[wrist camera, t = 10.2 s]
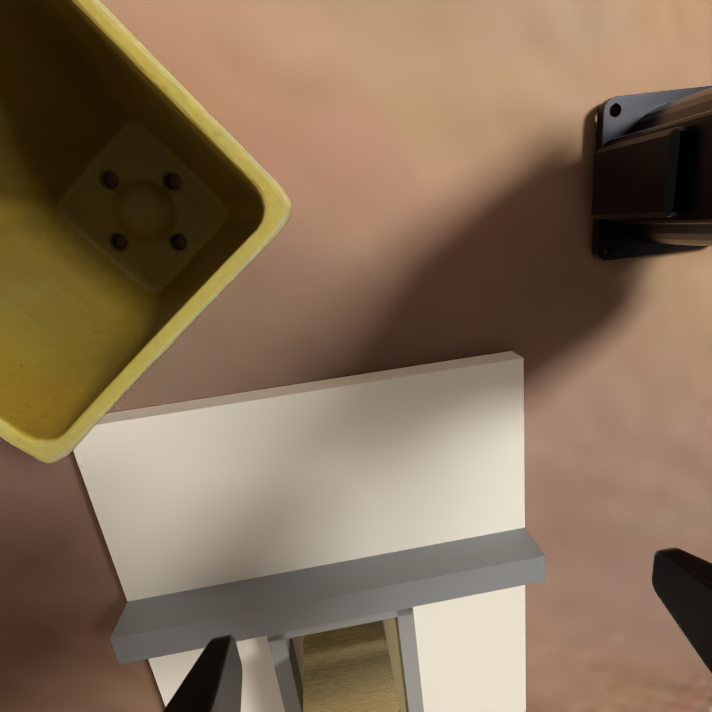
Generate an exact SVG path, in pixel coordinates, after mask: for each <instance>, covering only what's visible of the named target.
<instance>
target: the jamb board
mask: <svg viewBox="0 0 712 712" xmlns="http://www.w3.org/2000/svg"><path fill="white" fill-rule="evenodd" d="M73 452H74V455H75V457H76V460H77V463H78V466H79V468H80V471H81V474H82V477H83V479H84V482H85V485H86V488H87V491H88V493H89V496H90V499H91V502H92V504H93V507H94V510H95V513H96V516H97V518H98V521H99V524H100V527H101V529H102V532H103V535H104V538H105V541H106V543H107V546H108V549H109V552H110V554H111V557H112V560H113V563H114V566H115V568H116V571H117V574H118V577H119V579H120V582H121V585H122V588H123V591H124V593H125V596H126V599H127V604H126V606H125V608H124V610H123V612H122V614H121V616H120V618H119V621H118V623H117V625H116V627H115V629H114V631H113V633H112V635H111V637H110V639H109V640H110V642H111V645H112V647H113V650H114V652H115V655H116V658H117V660H118V663H119V665H120V664H125V663H130V662H135V661H140V660H145V659H148V660H149V663H150V665H151V668H152V671H153V674H154V677H155V679H156V682H157V685H158V688H159V690H160V693H161V696H162V699H163V702H164V704H165V707H166V706H167V704H168V703H169V701H170V700H171V698H172V697H173V695H174V694H175V692H176V691H177V689H178V688H179V686H180V685H181V683H182V682H183V680H184V679H185V677H186V676H187V674H188V673H189V671H190V670H191V668H192V667H193V665H194V664H195V662H196V661H197V659H198V658H199V656H200V655H201V653H202V652H203V650H204V648H205V647H206V645H207V644H208V642H209V641H210V640H211V639H212V638H214V637H217V636H222V635H227V634H232V635H233V636H234V638H235V641H236V644H237V648H238V652H239V656H240V659H241V663H242V673H243V677H242V696H241V712H303V636H304V635H309V634H314V633H319V632H324V631H329V630H335V629H340V628H345V627H350V626H355V625H360V624H365V623H370V622H375V621H380V620H383V625H384V630H385V635H386V640H387V645H388V650H389V656H390V661H391V666H392V671H393V676H394V681H395V686H396V691H397V696H398V701H399V707H400V712H526V673H525V585H527V584H532V583H537V582H542V581H545V555H544V553H543V552H542V551H541V549H540V548H539V547H538V545H537V544H536V542H535V541H534V540H533V538H532V537H531V536H530V534H529V533H528V532H527V530H526V529H525V507H524V358H523V357H521V356H519V355H518V354H516V353H514V352H513V351H507V352H501V353H494V354H488V355H481V356H475V357H468V358H462V359H456V360H449V361H443V362H436V363H430V364H423V365H417V366H410V367H404V368H397V369H391V370H385V371H378V372H372V373H365V374H359V375H352V376H346V377H339V378H333V379H326V380H320V381H313V382H307V383H301V384H294V385H288V386H281V387H275V388H268V389H262V390H255V391H249V392H242V393H236V394H229V395H223V396H217V397H210V398H204V399H197V400H191V401H184V402H178V403H171V404H165V405H158V406H152V407H145V408H139V409H133V410H126V411H120V412H113V413H107V414H105V415H104V416H103V418H102V419H101V420H100V421H99V422H98V423H97V424H96V425H95V426H94V427H93V428H92V430H91V431H90V432H89V433H88V434H87V435H86V436H85V438H84V439H83V440H82V441H81V442H80V443H79V444H78V445H77V447H76V448H75V449H74V450H73Z"/></svg>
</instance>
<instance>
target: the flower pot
mask: <svg viewBox="0 0 712 712" xmlns="http://www.w3.org/2000/svg"><path fill="white" fill-rule="evenodd" d="M108 172H111V173H114V174H116V175H117V177H118V179H119V184H118V185H117V187H115V188H110V187H108V186H107V185H106V184H105V181H104V176H105V174H106V173H108ZM169 174H175V175H177V176H178V177H179V178H180V186H179V188H177V189H170V188H169V187H168V186H167V185H166V182H165V179H166V177H167V176H168V175H169ZM290 214H291V203H290V200H289V198H288V196H287V195H286V193H285V192H284V190H283V189H282V187H281V186H280V185H279V184H278V182H277V181H276V180H275V179H274V178H273V177H272V176H271V175H270V174H269V173H268V172H267V171H266V170H265V169H264V168H263V167H262V166H261V165H260V164H259V163H258V162H257V161H256V160H255V159H254V158H253V157H252V156H251V155H250V154H249V153H248V152H247V151H246V150H245V149H244V148H243V147H242V146H241V145H240V144H239V143H238V142H237V141H236V140H235V139H234V138H233V137H232V136H231V135H230V134H229V132H228V131H227V130H226V129H225V128H224V127H223V126H222V125H221V124H220V123H219V122H218V121H217V120H216V119H215V118H214V117H213V116H212V115H211V114H210V113H209V112H208V111H207V110H206V109H205V108H204V107H203V106H202V105H201V104H200V103H199V102H198V101H197V100H196V99H195V98H194V97H193V96H192V95H191V94H190V93H189V92H188V91H187V90H186V89H185V88H184V87H183V86H182V85H181V84H180V83H179V82H178V81H177V80H176V79H175V78H174V77H173V76H172V75H171V73H170V72H169V71H168V70H167V69H166V68H165V67H164V66H163V65H162V64H161V63H160V62H159V61H158V60H157V59H156V58H155V57H154V56H153V55H152V54H151V53H150V52H149V51H148V50H147V49H146V48H145V47H144V46H143V45H142V44H141V43H140V42H139V41H138V40H137V39H136V38H135V37H134V36H133V35H132V34H131V32H130V31H129V30H128V29H127V28H126V27H125V26H124V25H123V24H122V23H121V22H120V21H119V20H118V19H117V18H116V17H115V16H114V15H113V14H112V13H111V12H110V11H109V10H108V9H107V8H106V7H105V6H104V5H103V4H102V3H101V2H100V1H99V0H0V437H1V438H3V439H4V440H5V441H7V442H9V443H10V444H12V445H14V446H15V447H17V448H19V449H21V450H22V451H24V452H26V453H27V454H29V455H31V456H33V457H34V458H36V459H38V460H39V461H41V462H44V463H54V462H56V461H58V460H60V459H62V458H64V457H66V456H67V455H68V454H69V453H71V452H72V451H73V450H74V449H75V448H76V447H77V445H78V444H79V443H80V442H81V441H82V440H83V439H84V438H85V436H86V435H87V434H88V433H89V432H90V431H91V430H92V428H93V427H94V426H95V425H96V424H97V423H98V422H99V421H100V420H101V419H102V418H103V416H104V415H105V414H106V413H107V412H108V411H109V410H110V409H111V408H112V407H113V406H114V404H115V403H116V402H117V401H118V400H119V399H120V398H121V397H122V396H123V395H124V394H125V393H126V392H127V391H128V390H129V388H130V387H131V386H132V385H133V384H134V383H135V382H136V381H137V380H138V379H139V378H140V377H141V376H142V375H143V374H144V372H145V371H146V370H147V369H148V368H149V367H150V366H151V365H152V364H153V363H154V362H155V361H156V360H157V359H158V358H159V357H160V356H161V355H162V354H163V353H164V352H165V350H166V349H167V348H168V347H169V346H170V345H171V344H172V343H173V342H174V341H175V340H176V339H177V338H178V337H179V336H180V335H181V334H182V333H183V332H184V331H185V330H186V329H187V327H188V326H189V325H190V324H191V323H192V322H193V321H194V320H195V319H196V318H197V317H198V316H199V315H200V314H201V313H202V312H203V311H204V310H205V309H206V307H207V306H208V305H209V304H210V303H211V302H212V301H213V300H214V299H215V298H216V297H217V296H218V295H219V294H220V293H221V292H222V291H223V290H224V289H225V288H226V287H227V286H228V285H229V284H230V283H231V282H232V281H233V280H234V279H235V278H236V277H237V276H238V275H239V274H240V273H241V272H242V271H243V270H244V269H245V268H246V267H247V266H248V265H249V264H250V263H251V262H252V261H253V260H254V259H255V258H256V257H257V256H258V255H259V254H260V252H261V251H262V250H263V249H264V248H265V247H266V246H267V245H268V244H269V243H270V242H271V241H272V240H273V239H274V238H275V237H276V235H277V234H278V233H279V232H280V231H281V230H282V229H283V227H284V226H285V225H286V224H287V222H288V220H289V217H290ZM117 234H121V235H123V236H125V237H126V239H127V242H128V243H127V246H126V247H125V248H123V249H119V248H117V247H116V246H115V245H114V243H113V237H114V236H115V235H117ZM176 235H181V236H183V237H184V238H185V239H186V243H187V244H186V247H185V248H184V249H177V248H175V247H174V245H173V244H172V239H173V237H174V236H176Z"/></svg>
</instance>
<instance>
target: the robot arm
mask: <svg viewBox="0 0 712 712" xmlns="http://www.w3.org/2000/svg"><path fill="white" fill-rule="evenodd" d="M611 106H612V107H613V108H614V111H615V113H614V116H613V117H612V116H611V115H610V107H611ZM592 215H593V235H592V254H593V256H594V257H595V258H596V259H598V260H607V261H608V260H615V259H622V258H629V257H636V256H643V255H650V254H658V253H665V252H672V251H679V250H686V249H693V248H700V247H707V246H712V86H706V87H697V88H688V89H679V90H670V91H661V92H652V93H643V94H634V95H625V96H616V97H613V98H611V99H608V100H606V101H604V102H603V103H602V104H601V106H600V107H599V109H598V114H597V137H596V154H595V155H594V175H593V200H592ZM606 244H607V247H608V249H607V251H606V253H605V254H604V253H603V247H604V246H605V245H606ZM652 584H653V587H654V590H655V592H656V593H657V595H658V596H659V598H660V599H661V601H662V602H663V604H664V605H665V607H666V608H667V610H668V611H669V613H670V614H671V615H672V617H673V618H674V620H675V621H676V623H677V624H678V626H679V627H680V629H681V630H682V632H683V633H684V634H685V636H686V637H687V639H688V640H689V642H690V643H691V645H692V646H693V648H694V649H695V651H696V652H697V653H698V655H699V656H700V658H701V659H702V660H703V662H704V663H705V665H706V666H707V667H708V669H709V670H710V671H711V673H712V563H710V562H708V561H705V560H703V559H701V558H699V557H697V556H694V555H692V554H690V553H688V552H685V551H683V550H681V549H678V548H668V549H663V550H659V551H657V552H656V553H655V555H654V563H653V573H652ZM242 677H243V673H242V663H241V659H240V656H239V652H238V648H237V644H236V641H235V638H234V636H233V635H232V634H227V635H222V636H217V637H214V638H212V639H211V640H210V641H209V642H208V644H207V645H206V647H205V648H204V650H203V652H202V653H201V655H200V656H199V658H198V659H197V661H196V662H195V664H194V665H193V667H192V668H191V670H190V671H189V673H188V674H187V676H186V677H185V679H184V680H183V682H182V683H181V685H180V686H179V688H178V689H177V691H176V692H175V694H174V695H173V697H172V698H171V700H170V701H169V703H168V704H167V706H166V707H165V709H164V710H163V712H241V696H242Z"/></svg>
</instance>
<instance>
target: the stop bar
mask: <svg viewBox="0 0 712 712" xmlns="http://www.w3.org/2000/svg"><path fill="white" fill-rule="evenodd" d="M303 712H400V707H399V701H398V696H397V691H396V686H395V681H394V676H393V671H392V666H391V661H390V656H389V650H388V645H387V640H386V635H385V630H384V625H383V620H380V621H375V622H370V623H365V624H360V625H355V626H350V627H345V628H340V629H335V630H329V631H324V632H319V633H314V634H309V635H304V636H303Z"/></svg>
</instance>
